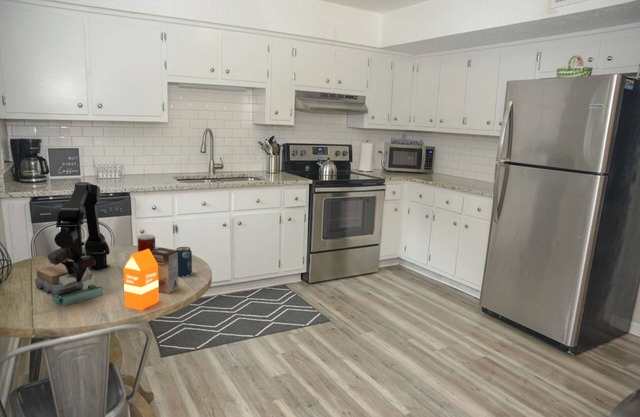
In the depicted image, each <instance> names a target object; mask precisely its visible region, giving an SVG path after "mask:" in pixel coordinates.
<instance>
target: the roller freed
mask: <svg viewBox="0 0 640 417" xmlns="http://www.w3.org/2000/svg"><path fill="white" fill-rule="evenodd" d="M92 275H93V274H92V271H90V269H86V271H85V273H84V275H83V277H82V279H81V281H80V282H83V283H84V282H86V281H91V280H92ZM80 282H77V280H76V276H75V273H73V274H69V275H65V276H61V277H59V284H60V286H61V287H65V286H69V285H72V284H76V283H80Z"/></svg>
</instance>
